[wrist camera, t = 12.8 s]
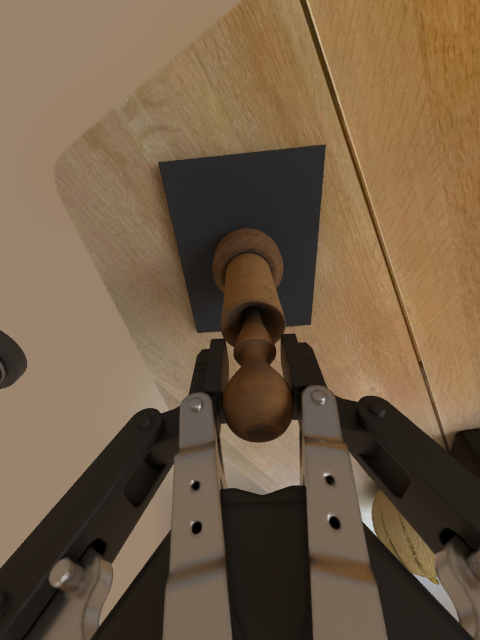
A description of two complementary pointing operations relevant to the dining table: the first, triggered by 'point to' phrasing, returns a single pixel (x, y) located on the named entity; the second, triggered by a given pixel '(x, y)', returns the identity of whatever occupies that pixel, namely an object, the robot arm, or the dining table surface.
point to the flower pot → (468, 450)
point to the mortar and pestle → (253, 334)
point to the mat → (247, 221)
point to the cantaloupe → (402, 538)
